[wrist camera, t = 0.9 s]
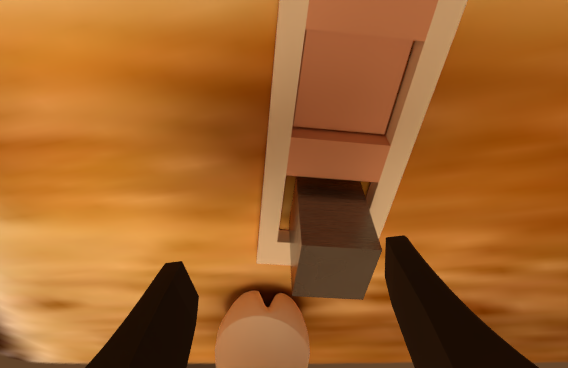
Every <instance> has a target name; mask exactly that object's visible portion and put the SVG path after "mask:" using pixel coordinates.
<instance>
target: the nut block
mask: <svg viewBox="0 0 568 368" xmlns="http://www.w3.org/2000/svg"><path fill="white" fill-rule="evenodd" d="M289 234H290V259H291V284H292V296H303V297H323V298H342V299H362V300H363V298H364V296H365V293H366V290H367V288H368V285H369V283H370V280H371V277H372V275H373V272H374V270H375V267H376V265H377V262H378V259H379V257H380V254H381V252H382V248H381V245H380V242H379V239H378V236H377V233H376V230H375V227H374V223H373V220H372V217H371V214H370V211H369V208H368V205H367V202H366V199H365V195H364V192H363V189H362V186H361V183H360V181H353V180H340V179H327V178H314V177H301V176H296V180H295V186H294V193H293V199H292V206H291V212H290V219H289Z"/></svg>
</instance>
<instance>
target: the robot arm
mask: <svg viewBox="0 0 568 368" xmlns="http://www.w3.org/2000/svg"><path fill="white" fill-rule="evenodd" d="M385 279H386V283H387V288H388V292H389V296H390V300H391V304H392V307H393V309H394V312H395V315H396V318H397V321H398V323H399V326H400V329H401V332H402V334H403V337H404V340H405V342H406V345H407V348H408V351H409V353H410V356H411V359H412V362H413V364H414V367H415V368H538V367H537V366H536V365H535V364H533V363H532V362H531V361H529V360H528V359H527V358H525V357H524V356H523V355H521V354H520V353H519V352H518V351H516V350H515V349H514V348H513V347H512V346H510V345H509V344H508V343H507V342H506V341H504V340H503V339H502V338H501V337H500V336H498V335H497V334H496V333H495V332H494V331H493V330H492V329H491V328H489V327H488V326H487V325H486V324H485V323H484V322H483V321H482V320H481V319H479V318H478V317H477V316H476V315H475V314H474V313H473V312H472V311H471V310H470V309H469V308H468V307H467V306H466V305H465V304H464V303H463V302H462V301H461V300H460V299H459V298H458V297H457V296H456V295H455V294H454V293H453V292H452V291H451V290H450V289H449V287H448V286H447V285H446V284H445V283H444V282H443V281H442V280H441V279H440V278H439V276H438V275H437V274H436V273H435V272H434V271H433V270H432V269H431V267H430V266H429V265H428V264H427V263H426V261H425V260H424V259H423V258H422V256H421V255H420V254H419V253H418V251H417V250H416V249H415V248H414V246H413V245H412V244H411V242H410V241H409V239H408V238H407V237H406V236H395V237H387V238H386V253H385ZM198 299H199V296H198V294H197V292H196V290H195V287H194V285H193V283H192V281H191V279H190V277H189V275H188V273H187V271H186V269H185V267H184V265H183V263H182V261H180V262H172V263H165V265H164V266H163V267H162V269H161V270H160V271H159V273H158V274H157V276H156V277H155V279H154V280H153V281H152V283H151V284H150V286H149V287H148V289H147V290H146V291H145V293H144V294H143V296H142V297H141V298H140V300H139V301H138V303H137V304H136V305H135V307H134V308H133V309H132V311H131V312H130V314H129V315H128V316H127V318H126V319H125V320H124V322H123V323H122V324H121V325H120V327H119V328H118V329H117V330H116V332H115V333H114V334H113V335H112V337H111V338H110V339H109V341H108V342H107V343H106V344H105V345H104V347H103V348H102V349H101V350H100V351H99V353H98V354H97V355H96V356H95V357H94V358H93V359H92V361H91V362H90V363H89V364H88V365H87V366H86V367H85V368H186V367H187V363H188V358H189V354H190V349H191V345H192V340H193V336H194V331H195V327H196V320H197V310H198Z"/></svg>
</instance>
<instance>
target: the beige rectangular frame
mask: <svg viewBox="0 0 568 368" xmlns="http://www.w3.org/2000/svg"><path fill="white" fill-rule="evenodd" d="M467 1H468V0H279V7H278V18H277V30H276V41H275V53H274V64H273V76H272V87H271V99H270V110H269V122H268V133H267V145H266V156H265V168H264V179H263V191H262V202H261V214H260V225H259V237H258V249H257V263H258V264H275V265H291V259H290V234H289V230H279V224H280V217H281V209H282V202H283V194H284V187H285V179H286V175H288V176H301V177H314V178H327V179H340V180H353V181H366V182H371V183H370V186H369V189H368V193H367V196H366V202H367V205H368V208H369V211H370V214H371V217H372V220H373V223H374V227H375V230H376V233H377V236H378V239H379V237H380V235H381V232H382V229H383V227H384V224H385V221H386V218H387V216H388V213H389V210H390V208H391V205H392V202H393V200H394V197H395V194H396V192H397V189H398V186H399V184H400V181H401V178H402V175H403V173H404V170H405V167H406V165H407V162H408V159H409V157H410V154H411V151H412V149H413V146H414V143H415V141H416V138H417V135H418V132H419V130H420V127H421V124H422V122H423V119H424V116H425V114H426V111H427V108H428V106H429V103H430V100H431V98H432V95H433V92H434V89H435V87H436V84H437V81H438V79H439V76H440V73H441V71H442V68H443V65H444V63H445V60H446V57H447V55H448V52H449V49H450V46H451V44H452V41H453V38H454V36H455V33H456V30H457V28H458V25H459V22H460V20H461V17H462V14H463V12H464V9H465V6H466V3H467ZM305 29H306V34H305ZM304 35H305V41H304ZM413 40H414V41H415V42H414V45H413V48H412V51H411V54H410V58H409V61H408V64H407V67H406V70H405V74H404V77H403V80H402V83H401V87H400V90H399V93H398V96H397V99H396V103H395V106H394V109H393V112H392V115H391V111H392V108H393V105H394V102H395V98H396V95H397V92H398V89H399V85H400V82H401V79H402V76H403V72H404V69H405V66H406V63H407V59H408V56H409V53H410V50H411V47H412V43H413ZM303 43H304V49H303ZM302 51H303V56H302ZM301 58H302V64H301ZM300 66H301V71H300ZM299 73H300V79H299ZM298 81H299V86H298ZM297 88H298V94H297ZM296 96H297V101H296ZM295 103H296V108H295ZM294 111H295V116H294ZM390 115H391V119H390V122H389V125H388V128H387V124H388V121H389V118H390ZM293 119H294V123H293ZM292 126H294V127H292ZM297 127H306V128H297ZM308 128H317V129H308ZM386 128H387V132H386V135H376V134H385V131H386ZM320 129H328V130H320ZM331 130H340V131H331ZM342 131H351V132H342ZM354 132H362V133H354ZM365 133H374V134H365Z"/></svg>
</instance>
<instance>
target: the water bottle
mask: <svg viewBox="0 0 568 368" xmlns="http://www.w3.org/2000/svg"><path fill="white" fill-rule="evenodd" d="M309 355H310V349H309V337H308V332H307V328H306V325H305V322H304V319H303V316H302V313H301V311H300V309H299V308H298V306H297V305H296V303H295V302H294V300H293V299H292V298H291V297H289V296H288V295H286V294H284V293H278V294H276V295H275V297H274V298H273V301H272V303H271V305H270V307H266V306H265V304H264V302H263V299H262V297H261V295H260V293H259V291H249V292H246V293H243V294H242V295H241V296H240V297H239V298H237V299H236V301H235V302H234V303H233V304H232V306H231V307H230V309H229V311H228V312H227V313H226V315H225V316H224V318H223V320H222V321H221V324H220V326H219V330H218V335H217V341H216V347H215V360H216V368H308V362H309Z"/></svg>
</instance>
